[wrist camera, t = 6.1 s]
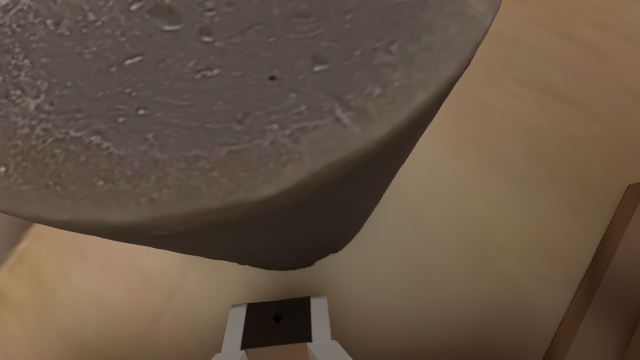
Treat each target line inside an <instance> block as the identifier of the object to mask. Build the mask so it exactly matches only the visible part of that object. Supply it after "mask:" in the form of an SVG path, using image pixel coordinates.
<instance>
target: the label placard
mask: <svg viewBox="0 0 640 360" xmlns="http://www.w3.org/2000/svg"><path fill="white" fill-rule="evenodd" d="M543 360H640V182H639V183H636V184H632V185H629V187H628V189H627V191H626V193H625V195H624V197H623V199H622V201H621V203H620V205H619V207H618V209H617V211H616V213H615V215H614V217H613V219H612V221H611V223H610V225H609V227H608V229H607V231H606V233H605V235H604V237H603V239H602V242H601V244H600V246H599V248H598V250H597V252H596V254H595V256H594V258H593V260H592V262H591V264H590V266H589V268H588V270H587V272H586V274H585V276H584V278H583V280H582V282H581V284H580V286H579V288H578V290H577V292H576V294H575V296H574V298H573V300H572V302H571V304H570V306H569V308H568V310H567V312H566V314H565V316H564V319H563V321H562V323H561V325H560V327H559V329H558V331H557V333H556V335H555V337H554V339H553V341H552V343H551V345H550V347H549V349H548V351H547V353H546V355H545V357H544V359H543Z"/></svg>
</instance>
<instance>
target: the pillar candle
mask: <svg viewBox="0 0 640 360" xmlns="http://www.w3.org/2000/svg"><path fill="white" fill-rule="evenodd" d="M501 2H502V0H0V212H1V213H4V214H8V215H11V216H14V217H18V218H21V219H24V220H26V221H30V222H34V223H38V224H42V225H46V226H50V227H54V228H58V229H62V230H67V231H71V232H76V233H81V234H86V235H92V236H97V237H100V238H105V239H109V240H113V241H118V242H124V243H130V244H136V245H142V246H148V247H153V248H157V249H163V250H168V251H173V252H177V253H182V254H187V255H194V256H200V257H204V258H209V259H214V260H224V261H229V262H236V263H238V264H240V265H248V266H252V267H256V268H261V269H265V270H275V271H288V270H297V269H301V268H307V267H310V266H312V265H313V264H314V263H315V262H316V261H318V260H320V259H322V258H325V257H327V256H328V255H329V254H331V253H333V254H334V253H337V252H338V251H340V250H342V249H343V248H344V247H345V246H346V245H347V244H348V243H349V242H350V241H351V240H352V239H353V238H354V237H355V235H356V234H357V233H358V232H359V231H360V229H361V228H362V227H363V225H364V223H365V222H366V221H367V219H368V218H369V216H370V215H371V213H372V212H373V210H374V208H375V207H376V206H377V204H378V203H379V202H380V200H381V198H382V196H383V194H384V193H385V191H386V190H387V188H388V186H389V185H390V183H391V182H392V180H393V179H394V177H395V175H396V174H397V172H398V171H399V169H400V168H401V166H402V165H403V164H404V162H405V161H406V159H407V158H408V156H409V155H410V153H411V152H412V150H413V148H414V147H415V145H416V143H417V142H418V140H419V139H420V137H421V136H422V134H423V133H424V131H425V130H426V129H427V127H428V126H429V124H430V123H431V121H432V120H433V118H434V117H435V115H436V114H437V112H438V111H439V109H440V107H441V106H442V104H443V102H444V101H445V99H446V98H447V97H448V95H449V94H450V92H451V90H452V89H453V87H454V86H455V84H456V83H457V82H458V80H459V79H460V78H461V76H462V75H463V73H464V72H465V70H466V69H467V68H468V66H469V64H470V62H471V61H472V59H473V57H474V55H475V53H476V51H477V49H478V48H479V46H480V44H481V43H482V41H483V39H484V37H485V36H486V34H487V32H488V30H489V28H490V26H491V25H492V23H493V21H494V19H495V17H496V14H497V12H498V10H499V8H500V5H501Z"/></svg>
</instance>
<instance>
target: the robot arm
mask: <svg viewBox="0 0 640 360" xmlns="http://www.w3.org/2000/svg"><path fill="white" fill-rule="evenodd" d="M211 360H353V359H352V358H351V357H350V356H349V355H348V353H347V352H346V351H345V350H344V349H343V348H342V346H341V345H340V344H339V343H338V342H337V341H336V340H332V334H331V326H330V317H329V309H328V301H327V295H318V296H311V297H310V296H308V297H300V298H292V299H284V300H279V301H268V302H256V303H247V304H236V305H232V306H231V308H230V311H229V315H228V320H227V325H226V330H225V335H224V340H223V345H222V350H221V353H217V354H215V355H214V357H213V358H212V359H211Z"/></svg>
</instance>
